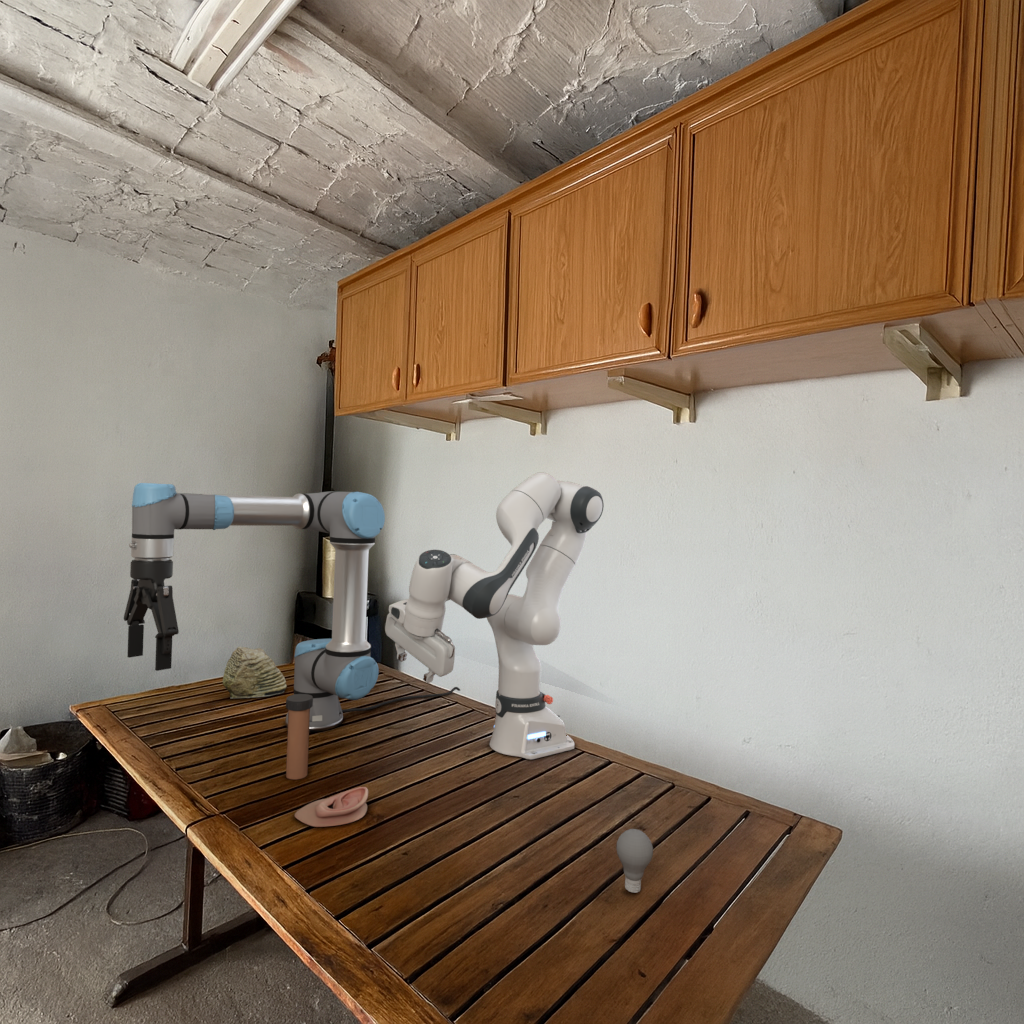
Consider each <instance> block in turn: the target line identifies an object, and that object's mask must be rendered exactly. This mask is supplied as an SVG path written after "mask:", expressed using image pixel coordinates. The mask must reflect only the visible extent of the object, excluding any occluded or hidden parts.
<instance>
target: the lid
mask: <svg viewBox="0 0 1024 1024" xmlns="http://www.w3.org/2000/svg"><path fill="white" fill-rule="evenodd" d="M312 706H313V696H311V695H309V694H295V695H294V694H291V695H288V696H287V697H286V699H285V709H287V711H288V710H292V711H302V710H307V709H310V708H311V707H312Z"/></svg>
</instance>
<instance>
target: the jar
mask: <svg viewBox="0 0 1024 1024" xmlns="http://www.w3.org/2000/svg"><path fill="white" fill-rule="evenodd" d="M287 713H288V727H287V735H286V762H285V763H286V765H285V777H286V778H287V780H301V779H304V778H306V777H307V776H308V773H309V771H308V770H309V750H310V749H309V746H310V732H309V723H310V709H307V710H302V711H292V710H288V709H287Z"/></svg>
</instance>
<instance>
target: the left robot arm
mask: <svg viewBox="0 0 1024 1024" xmlns="http://www.w3.org/2000/svg"><path fill="white" fill-rule="evenodd" d="M385 515H386V513H385V511H384V508H383V505H382V503H381V502H380V501H379V500H378V498H377V497H375V495H373V494H370V493H367V492H363V491H362V492H361V491H337V490H336V491H335V490H333V491H332V490H330V491H321V492H311V493H295V494H294V495H293V496H276V495H275V496H274V495H273V496H272V495H248V494H247V495H246V494H244V495H243V494H220V493H219V494H218V493H217V494H216V493H215V494H214V493H189V492H187V493H186V492H177V491H176V486H175V485H174V484H173V483H152V482H139V483H137V484H136V485H135V486H134V488H133V492H132V501H131V520H132V521H131V542H130V543H128V547H129V548H130V549H131V550H130V556H131V558H133V559H132V560H131V561H130V567H129V568H130V571H129V574H130V575H129V576H130V578H131V581H130V590H129V594H128V598H127V603H126V607H125V610H124V615H123V621H124V622H126V624H127V626H128V629H127V630H128V631H127V658H135V657H142V656H144V635H145V634H144V630H145V625H144V624H145V623H146V621H145V619H144V618H145V616H146V615H147V612H148V609H149V610H151V613H152V618H153V620H154V624H155V627H156V631H157V633H156V635H155V636H154V638H155V661H154V663H155V665H154V668H155V669H154V670H155V671H157V672H159V671H164V670H169V669H172V659H173V657H172V655H173V637H175V636H176V635H179V632H180V631H179V625H178V619H177V615H176V614H177V613H176V609H175V603H174V597H173V595H174V593H173V585H165V580H167V579H171V578H172V577H173V575H174V573H173V572H174V561H173V560H172V559H171V558H173V557H174V554H175V553H174V552H175V530H213V531H215V530H224V529H228V528H230V526H233V527H234V526H237V527H238V526H240V527H243V526H246V527H247V526H249V527H250V526H258V527H259V526H268V527H269V526H276V527H277V526H282V527H284V526H285V527H286V526H287V527H288V526H289V527H290V526H291V527H293V528H294V529H296V530H308V531H309V530H310V531H316V532H319V533H325V534H329V544H330V545H331V546H332V547H333V548H334V550H335V551H334V572H333V573H334V577H333V599H332V625H331V626H332V627H331V638H317V639H308V640H304V641H300V642H299V643H297V645H296V646H295V650H294V655H293V657H294V672H293V673H294V674H293V695H295V694H309V695H311V696H313V706H312V707H311V708H310V723H309V733H316V732H325V731H329V730H332V729H335V728H337V727H339V726H340V725H342V723H343V722H344V714H343V713H351V712H353V713H354V712H366V711H371V710H374V709H377V708H379V707H382V706H385V705H388V704H392V703H395V702H399V701H404V700H411V699H412V700H413V699H423V698H434V697H435V698H436V697H445V696H449V695H450V694H452V693H453V692H454V691H456V690H457V691H458V692H460V691H461V688H460V687H458V686H454V687H453V688H452V689H450V690H449V691H446V692H441V693H431V694H430V693H429V694H419V695H409V696H408V695H407V696H402V697H397V698H393V699H389V700H387V701H383V702H380V703H376V704H374V705H371V706H368V707H361V708H358V707H357V708H345V709H342V706H341V702H340V699H339V698H341V699H342V700H343V699H344V700H348V701H349V700H350V701H357V700H360V699H362V698H364V697H365V696H367V695H368V694H370V692H371V690H372V689H374V687H375V685H376V683H377V682H378V678H379V674H380V672H379V671H380V670H379V669H380V668H379V665H378V663H377V662H376V660H375V659H374V657H371V652H372V649H371V648H372V644H371V643H370V642H368V640H367V639H366V631H367V607H368V606H367V605H368V604H367V602H368V582H369V581H368V579H369V555H370V553H369V552H370V550H371V548H372V547H374V545H375V544H376V536H378V535H379V534H380V533H381V530H383V528H384V526H385V522H386V521H385V520H386V516H385ZM285 726H286V728H288V712H287V713H286V715H285Z"/></svg>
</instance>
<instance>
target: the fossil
mask: <svg viewBox="0 0 1024 1024" xmlns="http://www.w3.org/2000/svg"><path fill="white" fill-rule="evenodd" d="M222 676H223V677H222V685H223V687H224V688H225V690H226V691H228V693H229V698H230V699H250V698H264V697H271V696H275V695H281V694H284V693H285V691H286V689H287V687H288V686H287V680H286V678H285V676H284V674H283V673H282V672H281V669H279V668H278V667H277V665H276V663H275V662H274V660H273V659H272V658H271V657H270V656H269V655H268V654H267V653H266V652H265V650H264V649H263V648H260V647H258V648H251V647H247V646H246V647H245V646H238V647H237V648H236V649H235V650H233V651H232V653H231V656H230V657H229V659H228V660H227V663H226V666H225V668H224V671H223V675H222Z"/></svg>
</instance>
